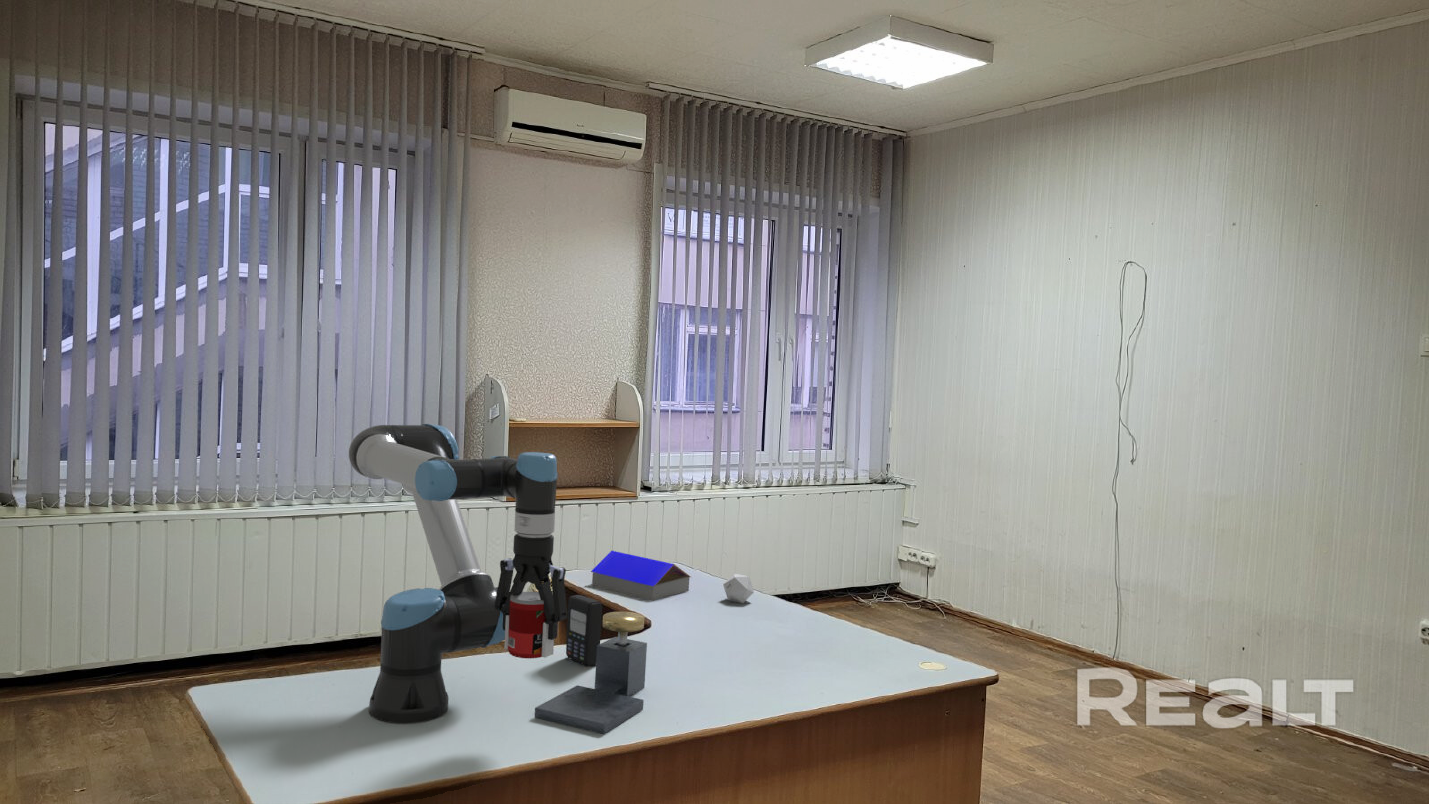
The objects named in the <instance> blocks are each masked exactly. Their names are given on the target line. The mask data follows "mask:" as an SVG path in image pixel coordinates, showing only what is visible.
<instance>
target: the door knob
mask: <svg viewBox="0 0 1429 804" xmlns="http://www.w3.org/2000/svg"><path fill="white" fill-rule="evenodd" d="M601 627H603V629H606V630H607V631H611V632H618V633H617V637H618V646H622V647H626V646H627V639H628V633H632V632H638V631H641V630H643V629H644V627H645V616H644V615H643V614H641V613H637V612H632V611H612V612H611V611H610V612H607V613H605V614H602V624H601Z"/></svg>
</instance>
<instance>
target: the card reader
mask: <svg viewBox="0 0 1429 804" xmlns="http://www.w3.org/2000/svg"><path fill="white" fill-rule="evenodd" d="M567 614H568V617H567V619H566V620H567V623H566V641H565V642H566V643H565V644H566V646H565V649H566V650H565V655H566V656H567V658H568V659H570V660H572V661H575V662H577V663H579V664H581V665H584V666H586V667H588V665H589V666H594V665H595V666H596V654H597V645H599V644H601V634H602V633H601V632H602V620H603V604H602V603H601V601H599V600H596V599H594V598H590V597H587V596H585V595H582V594H576V595H571V596H569V598H568V603H567Z"/></svg>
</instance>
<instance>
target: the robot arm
mask: <svg viewBox="0 0 1429 804" xmlns="http://www.w3.org/2000/svg"><path fill="white" fill-rule="evenodd" d="M458 453H459V447H458V443H457V441H456V437H455V436H454V434H453V433H452V432H451V431H450V430H449V429H448V428H446V427H445V426H442V425H438V424H430V423H423V424H406V425H405V424H380V425H379V424H378V425H374V426H370V427H368V428H366V429H363V430H362V431H361V432H359V433H357V435H356V436H355V437H354V438H353V439H352V441H351V443H350V445H349V448H348V458H349V459H348V460H349V462H350V465H351V467H352V468H353V469H354V471H355V472H357V474H360V475H361V476H363V477H366V478H370V479H372V480H382V479H387V480H390V481H393V482H395V483H397V484H401V486H402V488H403V490H404V491H407V492H408V493H411V494H412V497H413V499H414V504H415V505H416V508H417V509H416V510H417V513H418V516H419V519H420V521H421V525H422V528H423V531H424V534H425V537H426V541H427V544H428V547H429V550H430V553H431V556H432V557H431V558H432V560H433V563H434V566H435V570H436V572H437V576H438V577H439V578H438V579H439V581H440V585H441V586H440V587H439V589H438V588H433V587H425V588H413V589H407V590H404V591H400V592H398V593H395V594H393V595H392V596H390V597H389V598H387V600H386V601H385V602H384V603H383V611H382V615H381V620H380V624H381V640H380V641H381V643H380V668H379V669H380V670H379V674H378V677H377V680H376V682H375V685H374V687H373V691H372V694H371V696H370V698H369V703H368V704H369V706H368V712H369V715H370V716H372V717H373V718H374V719H376V720H379V721H383V722H387V723H388V722H389V723H396V724H413V723H421V722H427V721H430V720H434V719H437V718H439V717H441V716H443V715H444V714H446V713H447V712H448V710H449V701H450V700H449V695H448V692H447V691H446V690H447V689H446V685H445V682H444V677H443V673H442V657H443V656H442V655H444V654H449V653H455V652H456V653H457V652H461V651H467V650H474V649H480V648H482V649H484V648H487V647H489V646H492V645H493V646H494V645H497V644H499V643H501V642H503V641H504V647H503V648H504V650H507V651H509V650H508V636H509V611H510V598H511V595H514V596H515V595H519V594H521V593H522V592H524V589H525V586H526V584H527V583H531V584H532V585H533V584H534V587H535V589H536V590H537V592H539V596H540V599H541V600H543V601H544V612H545V616H546V619H547V621H546V622H545V623H543V639H542V657H541V658H548V657H551V656H552V655H554V647H555V644H554V643H555V639H558V632H559V631H558V629H559V627H558V626H559V622H561V621H564V620H568V603H567V595H566V588H565V586H566V585H565V577H566V572H567V570H566V567H564V566H562V567H558V566H555V565H554V563H553V560H552V556H553V555H554V542H555V537H554V535H553V533H554V532H555V525H556V523H555V522H556V520H555V519H556V503H557V501H556V499H557V486H558V485H557V482H558V481H557V480H558V472H557V471H558V470H557V469H558V466H557V464H558V460H557V457H556V456H555V455H554V454H552V453H549V452H547V453H546V452H539V451H538V452H537V451H530V452H529V451H527V452H521V453H520V454H519V455H518V456H517V458H513V457H510V456H507V455H504V456H502V455H501V456H500V455H495V456H494V455H493V456H491V457H489V458H476V459H475V458H472V459H471V458H470V459H459V455H458ZM497 497H499V498H500V497H506V498H507V497H508V498H512V499H515V505H514V506H515V509H514V512H515V513H514V532H515V533H516V534H515V535H514V536H513V547H512V548H513V550H512V551H513V553H514V557H513V558H505V559H502V560H500V561H499V566H500V575H499V581H498V585H497V587H496V586H495V585H494V581H493V579H492V577H491V575H490V574H488V573H486V572H483V571H482V570H481V566H480V564H479V560H478V557H477V556H476V553H475V549H474V546H473V542H472V541H471V538H470V534H469V531H468V528H467V525H466V522H465V520H464V517H463V513H462V511H461V510H462V509H461V507H460V505H459V501H458V500H463V499H465V500H467V499H483V498H485V499H486V498H497ZM514 570H515V571H516V573H515V576H514ZM549 574H550V576H549ZM513 576H514V578H513ZM550 578H551V579H550ZM512 583H513V584H512Z"/></svg>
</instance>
